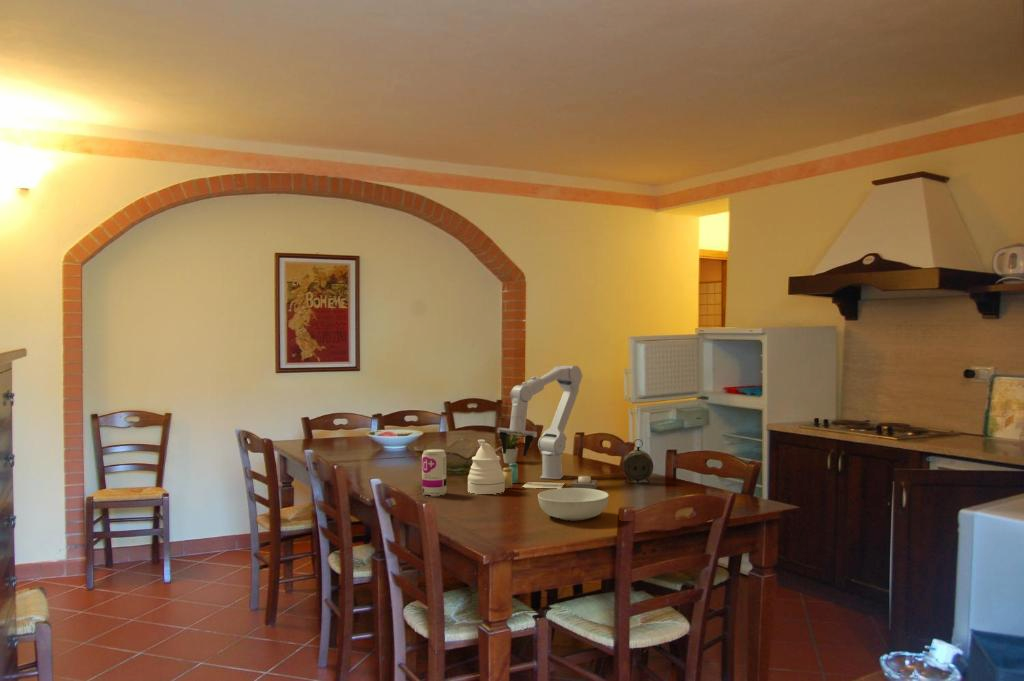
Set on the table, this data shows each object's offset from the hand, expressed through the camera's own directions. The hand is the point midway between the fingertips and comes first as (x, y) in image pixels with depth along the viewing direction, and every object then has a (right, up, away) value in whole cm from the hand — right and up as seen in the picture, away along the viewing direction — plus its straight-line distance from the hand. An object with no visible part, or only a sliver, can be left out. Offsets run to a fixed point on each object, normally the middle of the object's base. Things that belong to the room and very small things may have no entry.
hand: (514, 454), depth 275 cm
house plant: (-3, -11, +49) cm, 50 cm away
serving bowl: (+17, -11, -54) cm, 58 cm away
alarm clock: (+45, -11, -1) cm, 47 cm away
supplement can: (-28, -11, -19) cm, 35 cm away
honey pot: (-10, -11, -14) cm, 20 cm away
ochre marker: (-3, -11, -9) cm, 14 cm away
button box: (+25, -10, -10) cm, 29 cm away
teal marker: (0, -11, +1) cm, 11 cm away
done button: (+25, -9, -10) cm, 28 cm away
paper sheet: (+10, -10, -5) cm, 16 cm away
